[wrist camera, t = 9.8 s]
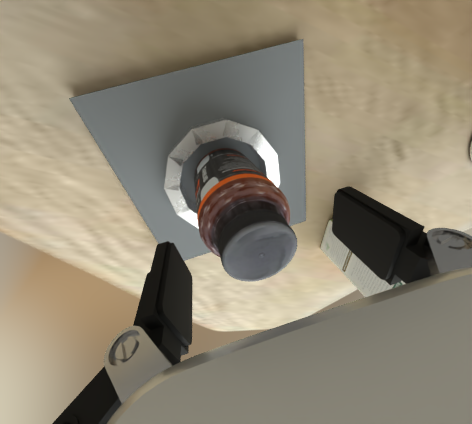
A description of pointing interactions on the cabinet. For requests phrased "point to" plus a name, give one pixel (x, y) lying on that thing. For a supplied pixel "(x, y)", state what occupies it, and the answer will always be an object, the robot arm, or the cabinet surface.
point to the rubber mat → (197, 112)
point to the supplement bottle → (242, 216)
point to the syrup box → (353, 265)
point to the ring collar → (204, 135)
